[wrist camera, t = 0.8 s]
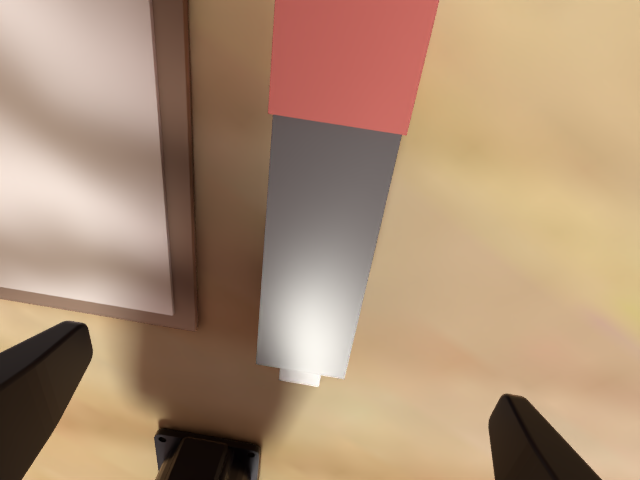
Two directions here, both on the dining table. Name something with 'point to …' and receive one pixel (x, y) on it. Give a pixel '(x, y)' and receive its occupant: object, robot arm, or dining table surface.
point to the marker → (331, 169)
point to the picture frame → (98, 159)
